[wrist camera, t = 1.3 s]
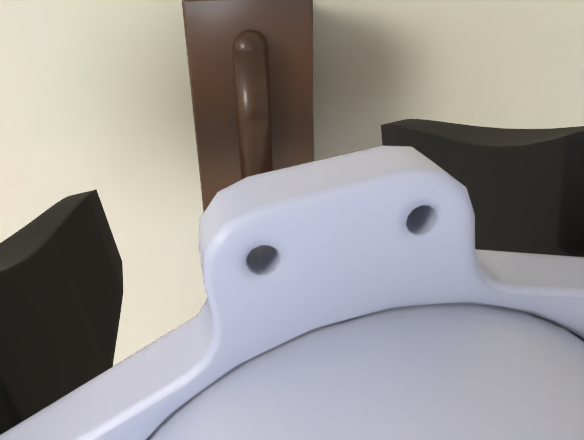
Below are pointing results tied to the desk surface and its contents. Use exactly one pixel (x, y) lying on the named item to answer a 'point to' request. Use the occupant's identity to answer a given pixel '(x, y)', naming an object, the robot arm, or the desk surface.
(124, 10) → the desk surface
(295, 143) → the brown block with peg
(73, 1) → the desk surface
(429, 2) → the desk surface
